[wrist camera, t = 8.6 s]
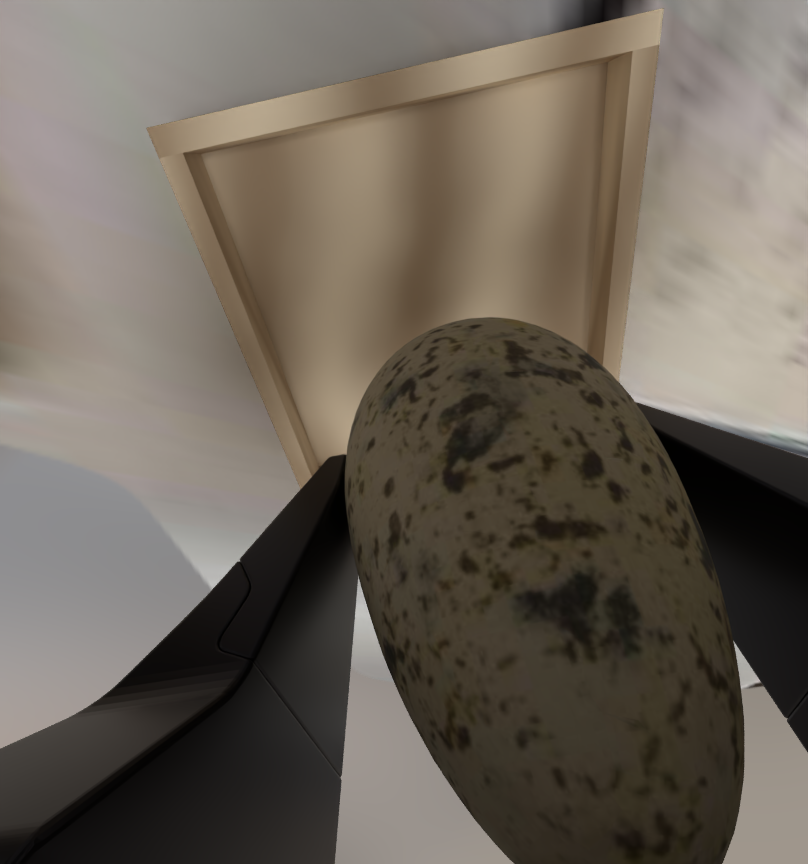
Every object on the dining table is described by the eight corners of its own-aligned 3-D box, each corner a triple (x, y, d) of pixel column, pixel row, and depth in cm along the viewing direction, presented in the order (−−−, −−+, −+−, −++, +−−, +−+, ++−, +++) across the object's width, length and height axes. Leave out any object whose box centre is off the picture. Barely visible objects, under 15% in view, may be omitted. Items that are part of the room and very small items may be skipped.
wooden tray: (622, 30, 14) (663, 8, 12) (590, 420, 23) (610, 445, 21) (177, 133, 15) (146, 127, 13) (311, 470, 24) (305, 499, 22)
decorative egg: (471, 492, 14) (602, 965, 6) (317, 412, 12) (178, 970, 4) (605, 359, 12) (1183, 863, 3) (439, 228, 10) (860, 693, 1)
